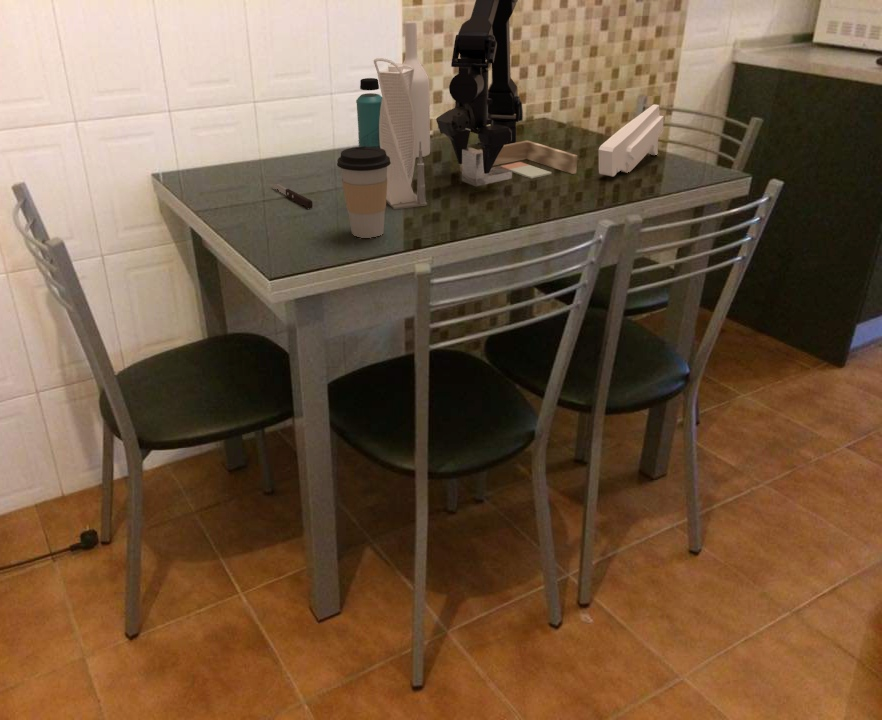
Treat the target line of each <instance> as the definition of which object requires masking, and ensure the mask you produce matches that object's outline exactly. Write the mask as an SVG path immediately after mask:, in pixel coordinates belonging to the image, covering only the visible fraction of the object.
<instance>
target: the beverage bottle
mask: <svg viewBox="0 0 882 720" xmlns="http://www.w3.org/2000/svg"><path fill="white" fill-rule="evenodd" d="M359 82H360V83H359V84H360V85H359V86H360V87H359V90H361V91H377V90H379V89H380V84H379V79H378V78H376V77H375V78H373V77H368V78H361V79H360V81H359ZM355 103H356V112H357V113H356V114H357V115H356V117H357V127H358V128H357V129H358V130H357V131H358V132H357V133H358V134H357V137H358V140H357V142H358V147H377V148H380V138H379V121H380V110H381V103H382V95H381V94H379V93H375V92H374V93H372V92H371V93H370V92H369V93H363V94H361V95H359V96H358V97H357V99H356V102H355Z"/></svg>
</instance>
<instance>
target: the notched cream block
mask: <svg viewBox="0 0 882 720" xmlns="http://www.w3.org/2000/svg"><path fill="white" fill-rule="evenodd" d="M664 121H665V116H664V115H660V104H656V103H655V104H652V105H651V106H649V107H648V108H647V109H645V110H644V111H643V112H641V113H640V114H638V115H636V117H634V118H633V119H632V120H630V121H629V122H628V123H627V124H625V125H623V126H622V127H621V128H619V130H618V131H616V132H615V133H614V134H613V135H611V136H610V137H609V138H608V139H606V141H604V142H603V143H602V144H601V145H600V146H599V148H598V174H599V175H602V176H609V177H615V176H616V175H617V173H619V172H620V171H621V172H620V173H627V174H629V173H630V172H631V171H632V170H633V169H635V167H636V166H637V165H638V164H639V163H640V162H641V161H642V160H643V159H644V157H646V155H647V154H649V155H650V154H651V156H655V155H657V154H659V153H658V151H659V145H658V144H659V137H660V135H661V134H662V133H663V132H664ZM657 156H658V155H657ZM628 172H629V173H628Z"/></svg>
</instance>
